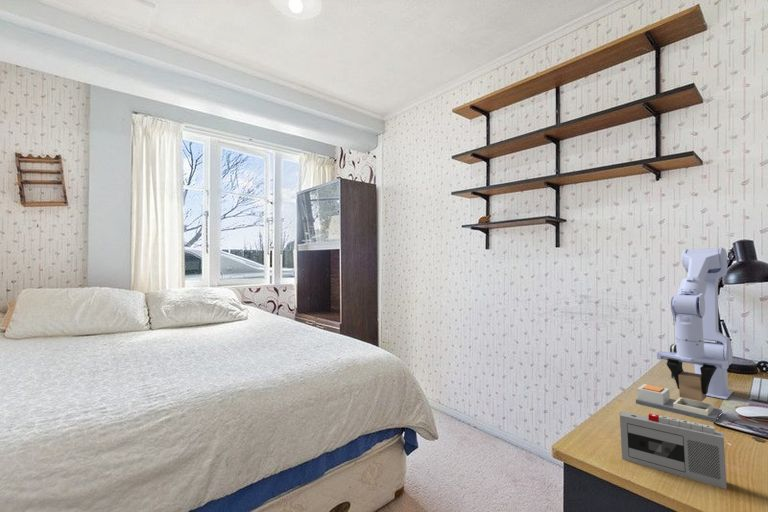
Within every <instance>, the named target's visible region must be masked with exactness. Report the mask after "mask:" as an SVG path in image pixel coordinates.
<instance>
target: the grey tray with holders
mask: <svg viewBox="0 0 768 512" xmlns="http://www.w3.org/2000/svg"><path fill="white" fill-rule="evenodd" d="M646 385H648V384H646V383H643V384H642V385H640V386H639V387H637V391H636V392H637V398H636V399H635V403H636V404H637V405H641V406H642V405H643V406H646V407H651V408H654V409H658V410H663V411H667V412H671V413H676V414H679V415H684V416H687V417H691V418H695V419H696V418H697V419H699V420H704V421H709V422H713V423H716V422H717V421H718V420H717V418H718V417H719V415H720V414H721V413H722V414H723V410H722V409H720V408H717V407H715V405H714V403H710V402H705V401H702V402H700V401H695V400H691V399H686V398H681V397H680V396H679V397H678V398H677V399H673V398H671V396H670V388H666V387H663V388H664V390H663V391H662V392H661V393H660V392H655V391H650V390H645V389H643V387H644V386H646ZM719 418H720V417H719ZM719 418H718V419H719ZM716 420H717V421H716ZM715 421H716V422H715Z"/></svg>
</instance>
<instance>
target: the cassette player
mask: <svg viewBox="0 0 768 512" xmlns="http://www.w3.org/2000/svg"><path fill="white" fill-rule="evenodd" d="M619 422H620V423H619V426H620V427H619V428H620V441H621V443H620V444H621V446H620V447H621V459H622V460H624V459H625V460H624V461H627V460H628V462H630V461H631V462H632V463H634V464H638V465H642V466H645V467H648V468H651V469H656V470H658V471H659V470H660V471H662V472H666V473H670V474H673V475H675V476H680V477H683V478H687V479H691V480H693V481H697V482H701V483H704V484H707V485H709V486H710V485H711V486H715V487H718V488H721V489H725V490H727V489H728V486H727V472H726V469H727V468H726V453H725V439H724V438H725V437H724V432H722V431H717V430H715V426H713V425H707V424H703V423H698V422H694V421H693V422H692V421H688V420H683V419H679V418H674V417H670V416H663V415H659V414H654V413H648V416H647V415H642V414H636V413H632V412H627V411H623V410H622V411H621V413H620V414H619Z"/></svg>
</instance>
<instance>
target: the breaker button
mask: <svg viewBox="0 0 768 512" xmlns="http://www.w3.org/2000/svg"><path fill="white" fill-rule="evenodd" d="M664 388H665V387H660V386H657V385H651V384H647V385H646V386H644V387H643V389H645V390H650V391H655V392H660V393H661V392H662V391H663V390H664Z"/></svg>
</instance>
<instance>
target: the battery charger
mask: <svg viewBox="0 0 768 512" xmlns="http://www.w3.org/2000/svg"><path fill="white" fill-rule="evenodd" d="M669 352H673V353H677V349H676V343H671V345H670V347H669ZM683 371H684V368H683V367H682V372H683ZM670 377H671V378H672V379H674V380H675V378H674V376H673V374H672V372H671V371H670Z"/></svg>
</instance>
